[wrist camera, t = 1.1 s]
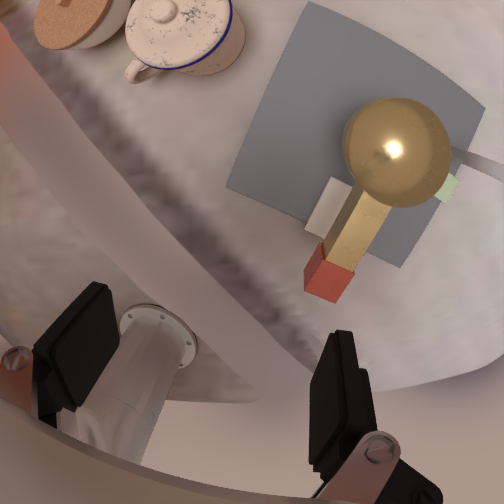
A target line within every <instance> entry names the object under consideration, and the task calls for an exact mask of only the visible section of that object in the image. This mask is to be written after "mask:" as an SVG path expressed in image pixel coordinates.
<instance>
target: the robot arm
mask: <svg viewBox="0 0 504 504" xmlns="http://www.w3.org/2000/svg"><path fill="white" fill-rule="evenodd" d="M120 333H121V338H119V333H118V328H117V323H116V317H115V311H114V305H113V299H112V292H111V290H110V289H108V286H107V285H106V284H102V283H99V282H95V281H94V282H92V283H91V284H90V285H89V286H88V287H87V288H86V289H85V290H84V291H83V292H82V293H81V294H80V295H79V296H78V297H77V298H76V299H75V300H74V301H73V302H72V303H71V304H70V305H69V306H68V307H67V309H66V310H65V311H64V312H63V313H62V314H61V315H60V316H59V317H58V318H57V319H56V320H55V322H54V323H53V324H52V325H51V326H50V327H49V328H48V329H47V330H46V332H45V333H44V334H43V335H42V336H41V337H40V338H39V340H38V341H37V342H36V343H35V344H34V345H33V346H34V348H33V349H32V351H31V350H30V349H29V348H27V347H25V346H15V347H12V348H10V349H9V350H7V351H6V352H5V353H4V355H3V356H2V358H1V362H0V504H443V495H442V492H441V490H440V489H439V488H438V487H437V486H436V485H435V484H434V483H432V482H431V481H429V480H428V479H427V478H425V477H424V476H423V475H421V474H420V473H419V472H417V471H416V470H415V469H413V468H412V467H411V466H409V465H408V464H407V463H405V462H404V461H403V460H401V459H400V454H401V450H400V446H399V443H398V441H397V440H396V439H395V438H394V437H393V436H392V435H390V434H389V433H386V432H383V431H378V430H377V424H376V417H375V411H374V405H373V399H372V393H371V387H370V382H369V376H368V372H367V370H366V369H363V368H359V365H358V359H357V354H356V348H355V343H354V338H353V333H352V332H351V331H344V330H336V331H335V333H330V334H329V336H328V339H327V342H326V344H325V347H324V350H323V352H322V355H321V357H320V360H319V362H318V365H317V367H316V370H315V372H314V375H313V377H312V380H311V383H310V421H309V422H310V425H309V464H310V465H313V472H320V478H321V479H322V480H323V481H324V482H323V483H322V484H321V486H320V487H319V488H318V489H317V490H316V492H315V493H314V494H313V495H312V496H311V497H310V498H298V497H286V496H277V495H268V494H261V493H253V492H246V491H240V490H234V489H229V488H223V487H218V486H213V485H208V484H204V483H200V482H196V481H191V480H187V479H184V478H180V477H176V476H173V475H169V474H165V473H162V472H159V471H156V470H153V469H150V468H147V467H144V466H141V465H140V464H141V461H142V457H143V455H144V452H145V449H146V447H147V444H148V442H149V439H150V436H151V434H152V432H153V429H154V427H155V424H156V421H157V419H158V417H159V414H160V412H161V410H162V407H163V405H164V402H165V400H166V398H167V395H168V393H169V390H170V388H171V385H172V383H173V381H174V378H175V376H176V374H177V371H178V369H180V368H184V367H186V366H188V365H189V364H190V363H191V362H192V361H193V359H194V357H195V355H196V352H197V342H196V339H195V336H194V334H193V332H192V331H191V329H190V328H189V327H188V326H187V324H186V323H185V322H184V321H183V320H181V319H180V318H179V317H178V316H176V315H175V314H173V313H172V312H170V311H168V310H166V309H164V308H161V307H158V306H154V305H143V304H142V305H136V306H134V307H131V308H130V309H128V310H127V311H126V312H125V314H124V315H123V316H122V318H121V321H120ZM63 407H64V408H66V409H68V410H70V411H72V412H75V411H76V409H77V425H78V430H79V434H80V438H81V441H79V440H77V439H75V438H73V437H71V436H69V435H67V434H65V433H63V432H62V426H61V414H60V411H61V410H62V408H63ZM77 407H78V408H77Z"/></svg>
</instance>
